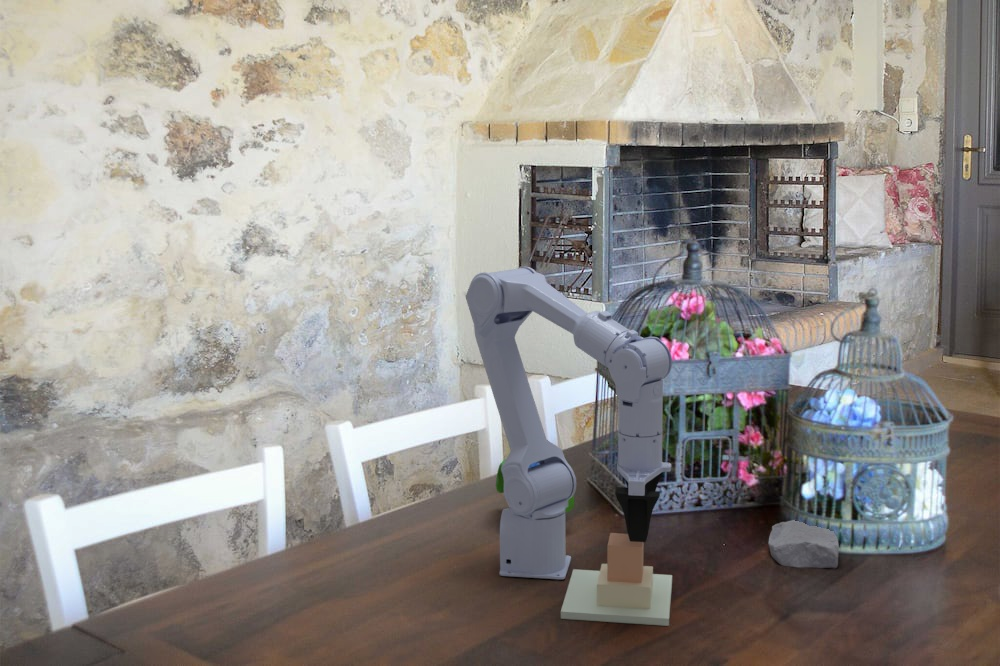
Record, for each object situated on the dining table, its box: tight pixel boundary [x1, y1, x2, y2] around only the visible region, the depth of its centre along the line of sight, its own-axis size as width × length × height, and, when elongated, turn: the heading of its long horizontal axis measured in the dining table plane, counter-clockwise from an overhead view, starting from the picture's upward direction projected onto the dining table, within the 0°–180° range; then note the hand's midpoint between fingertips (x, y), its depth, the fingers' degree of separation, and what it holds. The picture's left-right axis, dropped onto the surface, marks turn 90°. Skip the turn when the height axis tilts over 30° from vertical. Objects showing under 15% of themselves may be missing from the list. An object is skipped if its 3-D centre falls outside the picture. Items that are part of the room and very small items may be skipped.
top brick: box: [606, 532, 645, 583], centre depth 145 cm, size 4×4×5 cm
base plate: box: [560, 563, 673, 627], centre depth 147 cm, size 14×14×4 cm
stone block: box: [767, 519, 840, 569], centre depth 163 cm, size 12×5×10 cm
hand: (639, 530), depth 144 cm, fingers open, 7 cm apart
